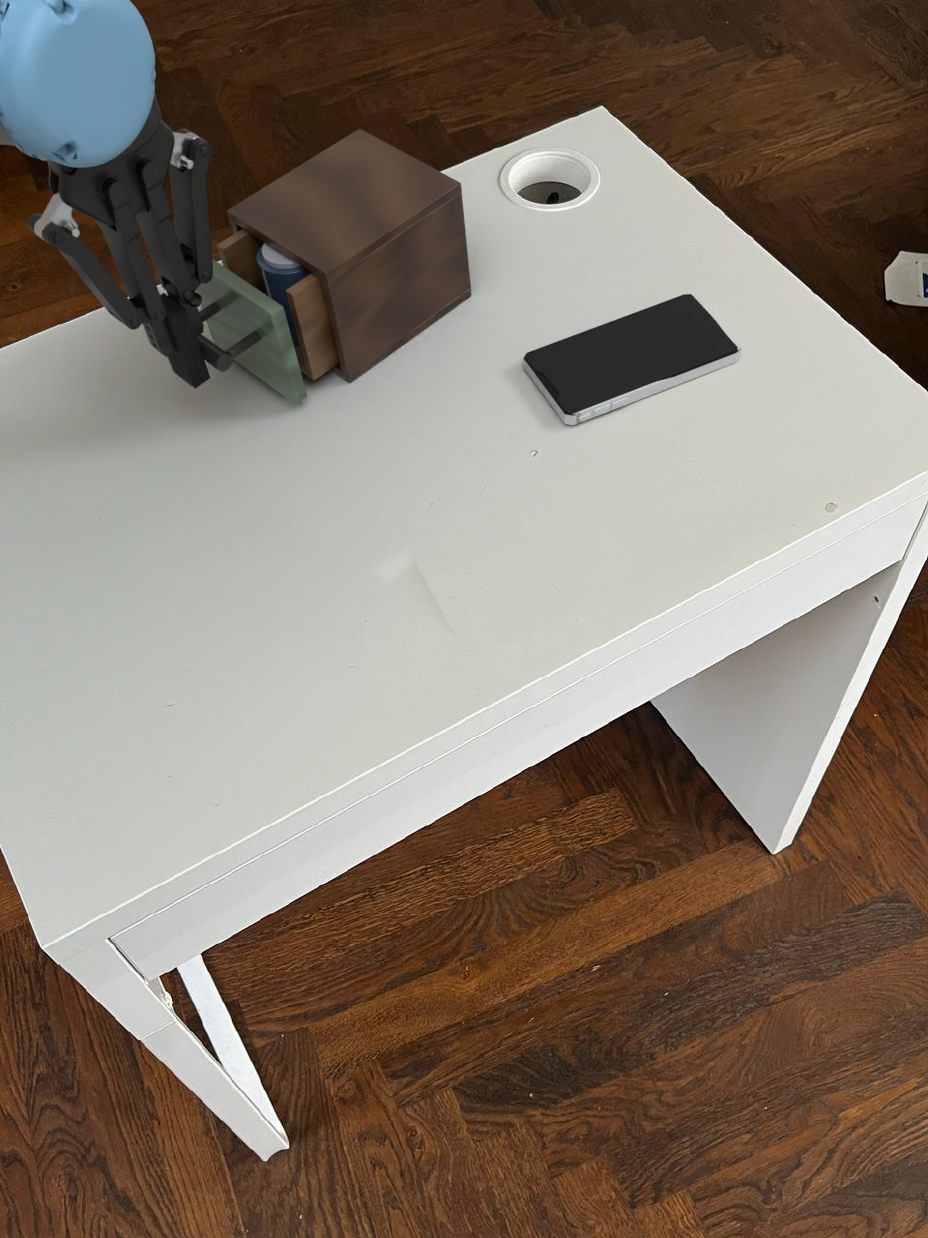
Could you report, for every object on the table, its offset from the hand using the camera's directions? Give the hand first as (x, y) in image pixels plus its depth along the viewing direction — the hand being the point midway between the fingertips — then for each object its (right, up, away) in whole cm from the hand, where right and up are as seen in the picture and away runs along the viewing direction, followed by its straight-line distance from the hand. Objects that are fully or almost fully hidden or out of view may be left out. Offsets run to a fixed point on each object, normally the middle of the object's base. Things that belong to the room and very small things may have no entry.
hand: (192, 374), depth 86 cm
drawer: (+7, +3, +6) cm, 10 cm away
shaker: (+8, +5, +6) cm, 11 cm away
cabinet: (+12, +8, +10) cm, 17 cm away
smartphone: (+33, +1, +3) cm, 33 cm away
